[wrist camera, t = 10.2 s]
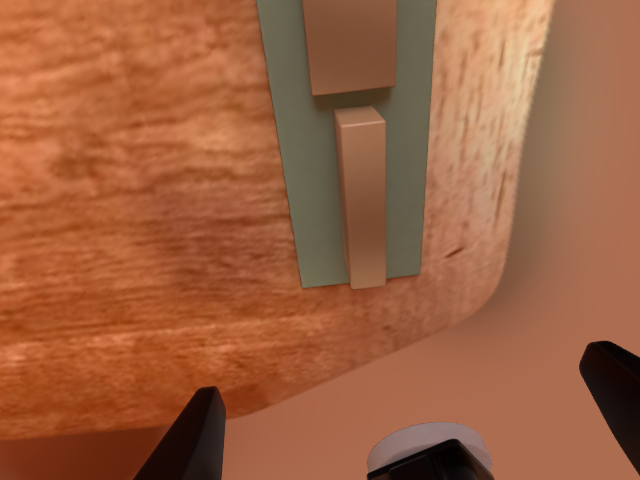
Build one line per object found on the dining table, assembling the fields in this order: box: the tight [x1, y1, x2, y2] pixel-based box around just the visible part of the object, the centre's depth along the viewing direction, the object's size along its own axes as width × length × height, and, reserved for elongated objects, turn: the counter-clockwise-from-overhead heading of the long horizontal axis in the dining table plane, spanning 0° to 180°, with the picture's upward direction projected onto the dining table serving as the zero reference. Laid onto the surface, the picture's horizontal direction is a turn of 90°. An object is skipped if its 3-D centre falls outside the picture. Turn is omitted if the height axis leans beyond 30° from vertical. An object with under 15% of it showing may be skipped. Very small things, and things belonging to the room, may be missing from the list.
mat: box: [256, 0, 437, 288], centre depth 14 cm, size 13×6×1 cm, turn 6°
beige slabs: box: [301, 0, 397, 290], centre depth 12 cm, size 11×3×2 cm, turn 6°
